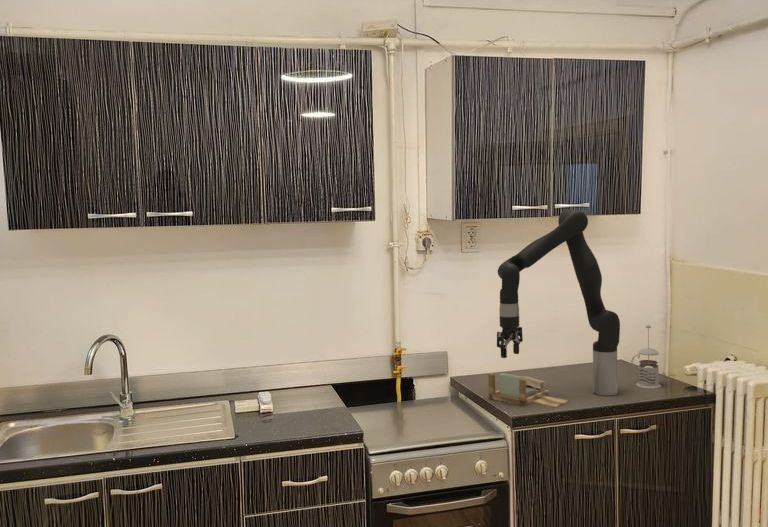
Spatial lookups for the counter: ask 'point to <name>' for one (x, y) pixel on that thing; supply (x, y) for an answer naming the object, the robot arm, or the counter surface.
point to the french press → (643, 379)
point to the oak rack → (521, 401)
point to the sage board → (509, 385)
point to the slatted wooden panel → (550, 401)
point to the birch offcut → (534, 382)
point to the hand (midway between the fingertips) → (510, 355)
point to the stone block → (531, 391)
